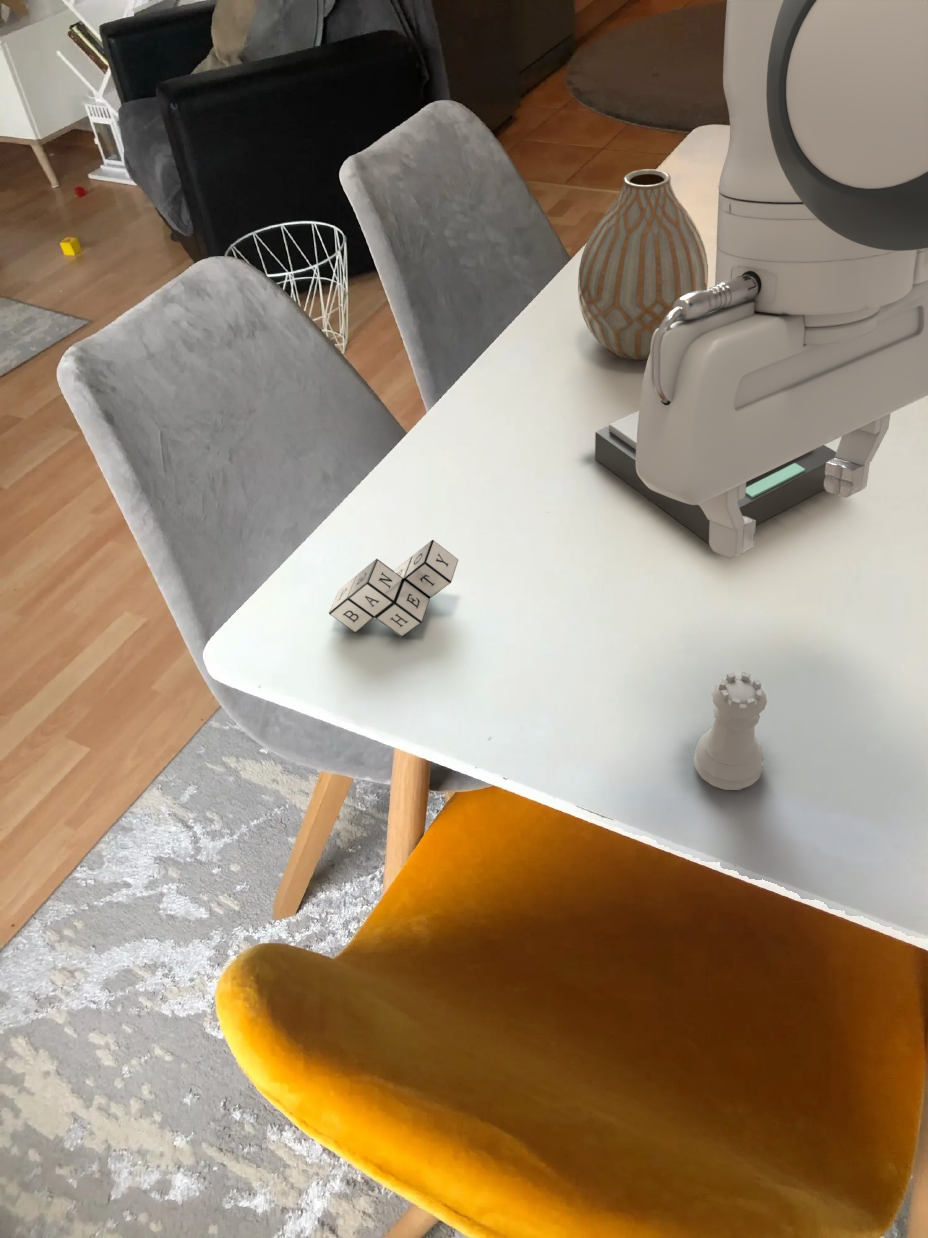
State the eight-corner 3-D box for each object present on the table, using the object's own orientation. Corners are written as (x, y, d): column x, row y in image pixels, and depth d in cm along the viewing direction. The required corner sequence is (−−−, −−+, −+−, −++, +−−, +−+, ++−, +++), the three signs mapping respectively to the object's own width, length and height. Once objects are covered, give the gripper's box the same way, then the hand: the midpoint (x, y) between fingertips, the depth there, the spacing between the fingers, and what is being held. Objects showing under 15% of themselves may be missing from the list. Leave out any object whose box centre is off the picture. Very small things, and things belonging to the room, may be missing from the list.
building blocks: (381, 651, 77) (443, 606, 72) (328, 613, 75) (387, 565, 70) (398, 605, 80) (458, 559, 75) (348, 568, 78) (406, 518, 73)
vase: (699, 378, 98) (716, 204, 85) (571, 374, 100) (569, 205, 88) (703, 315, 106) (719, 150, 94) (585, 313, 109) (585, 152, 97)
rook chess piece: (743, 806, 61) (759, 727, 56) (680, 774, 64) (690, 695, 58) (773, 759, 64) (791, 679, 58) (711, 730, 66) (724, 650, 60)
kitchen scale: (835, 483, 84) (843, 447, 81) (713, 547, 79) (718, 511, 77) (709, 405, 94) (712, 371, 91) (594, 458, 89) (595, 424, 87)
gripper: (713, 316, 37) (702, 615, 45) (999, 216, 47) (951, 476, 54) (602, 294, 42) (608, 568, 49) (883, 206, 51) (853, 448, 59)
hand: (789, 519), depth 52 cm, fingers open, 8 cm apart
